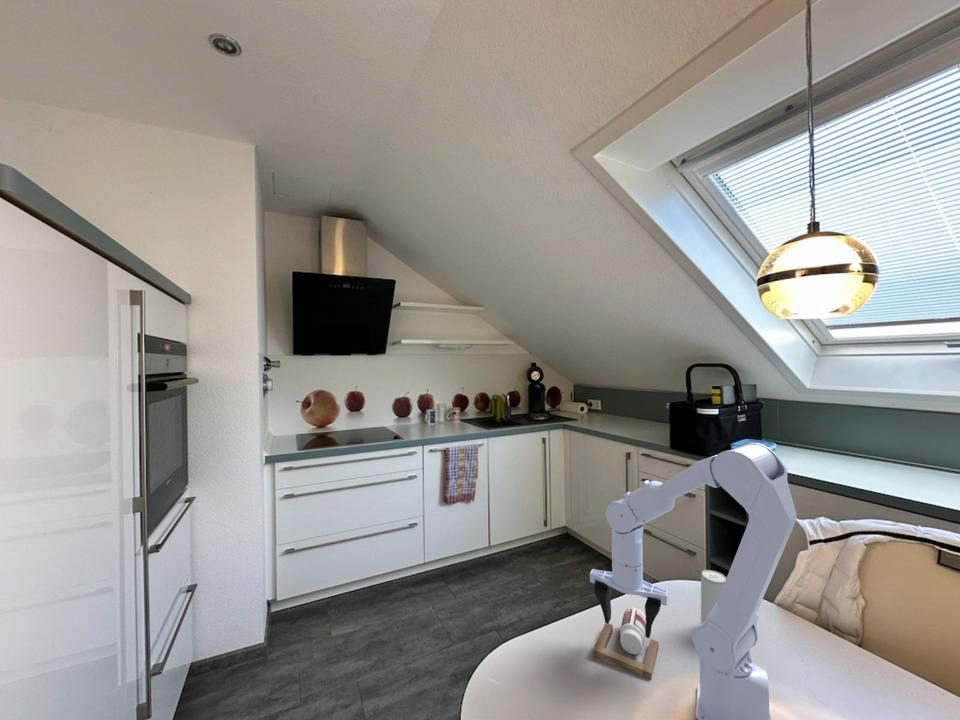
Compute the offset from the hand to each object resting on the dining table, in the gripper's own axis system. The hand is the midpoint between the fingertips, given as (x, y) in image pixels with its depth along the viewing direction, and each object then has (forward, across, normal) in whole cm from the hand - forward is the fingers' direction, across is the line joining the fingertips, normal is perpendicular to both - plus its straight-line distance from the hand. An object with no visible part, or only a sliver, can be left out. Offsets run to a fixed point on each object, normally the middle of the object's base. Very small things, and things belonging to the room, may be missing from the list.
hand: (627, 627), depth 76 cm
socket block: (+5, 0, 0) cm, 5 cm away
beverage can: (+5, -14, -16) cm, 22 cm away
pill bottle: (+2, 0, -8) cm, 8 cm away
